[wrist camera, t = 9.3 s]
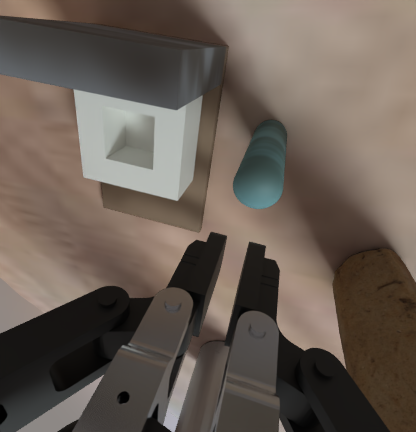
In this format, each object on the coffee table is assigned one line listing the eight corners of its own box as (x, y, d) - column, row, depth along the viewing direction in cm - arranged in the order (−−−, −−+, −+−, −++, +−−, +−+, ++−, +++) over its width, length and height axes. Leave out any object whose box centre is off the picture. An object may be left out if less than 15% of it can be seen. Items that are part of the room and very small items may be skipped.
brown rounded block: (323, 257, 34) (351, 462, 18) (392, 234, 31) (508, 463, 14) (360, 318, 37) (413, 539, 21) (427, 304, 34) (554, 557, 17)
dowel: (282, 155, 29) (275, 213, 19) (251, 148, 30) (229, 202, 20) (291, 123, 28) (289, 169, 18) (258, 116, 28) (237, 158, 18)
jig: (201, 228, 36) (162, 307, 26) (107, 203, 38) (34, 267, 27) (228, 46, 26) (180, 50, 15) (95, 23, 27) (-34, 12, 17)
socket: (192, 179, 32) (177, 201, 28) (109, 160, 33) (83, 177, 29) (204, 81, 26) (187, 89, 22) (104, 62, 28) (71, 66, 24)
